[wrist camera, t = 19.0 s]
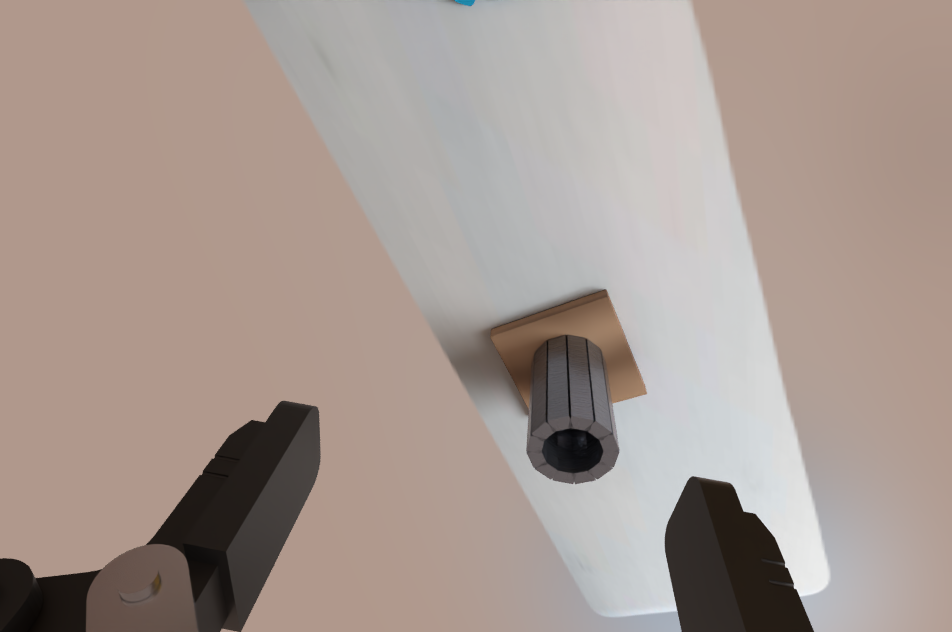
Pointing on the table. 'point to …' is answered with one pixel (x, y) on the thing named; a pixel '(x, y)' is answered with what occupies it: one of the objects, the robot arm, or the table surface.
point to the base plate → (577, 319)
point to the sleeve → (571, 412)
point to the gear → (465, 2)
